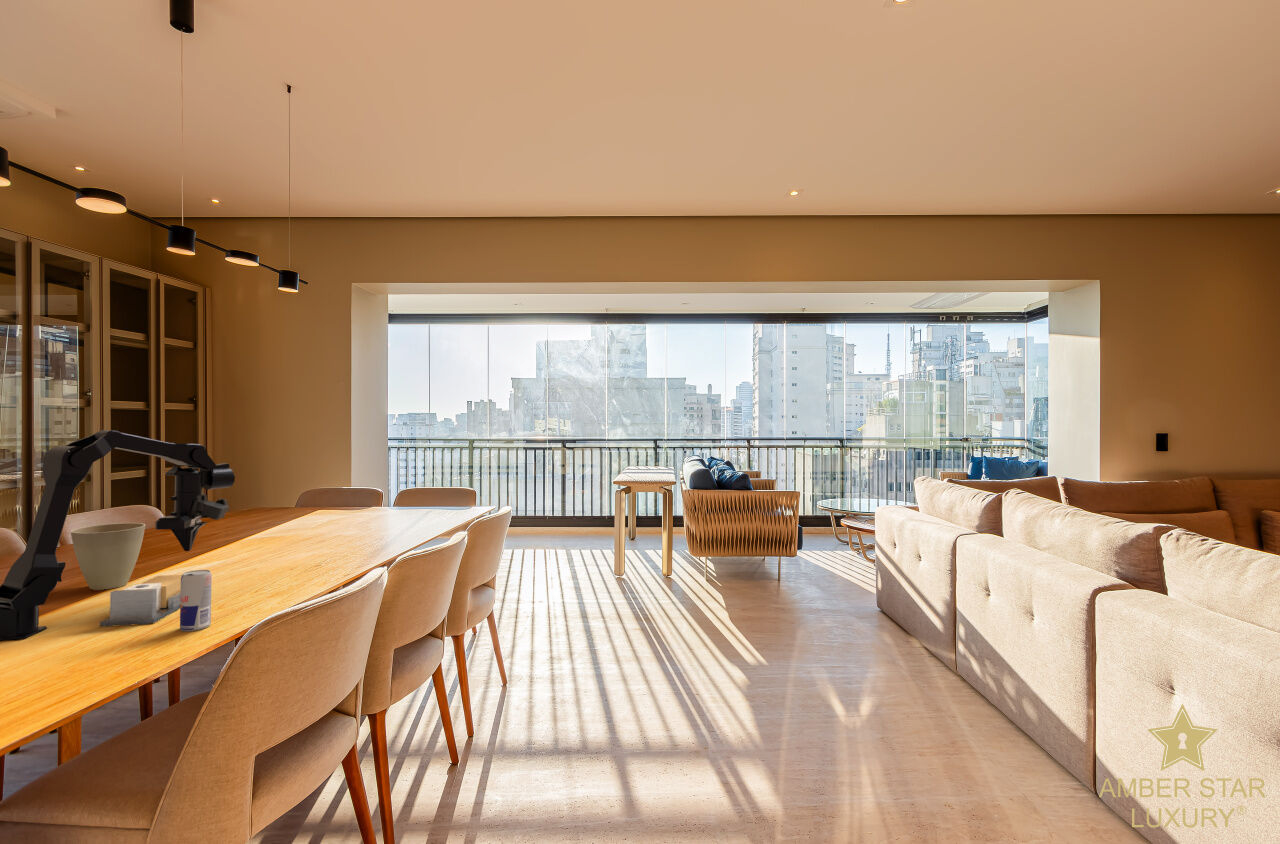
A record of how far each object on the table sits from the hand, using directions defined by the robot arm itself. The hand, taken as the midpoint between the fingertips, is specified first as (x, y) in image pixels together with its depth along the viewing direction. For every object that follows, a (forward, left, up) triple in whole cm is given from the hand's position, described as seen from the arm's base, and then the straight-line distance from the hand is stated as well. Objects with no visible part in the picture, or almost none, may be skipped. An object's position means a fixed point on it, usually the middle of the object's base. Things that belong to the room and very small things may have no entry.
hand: (187, 550), depth 152 cm
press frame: (-13, 0, -11) cm, 17 cm away
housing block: (-20, 0, -10) cm, 22 cm away
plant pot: (+10, +23, -11) cm, 27 cm away
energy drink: (-30, -15, -11) cm, 35 cm away
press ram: (-12, 0, -10) cm, 15 cm away
